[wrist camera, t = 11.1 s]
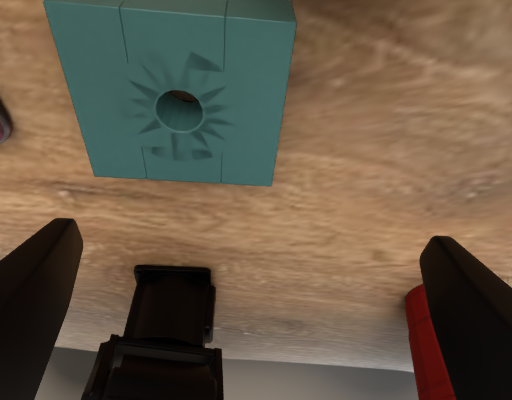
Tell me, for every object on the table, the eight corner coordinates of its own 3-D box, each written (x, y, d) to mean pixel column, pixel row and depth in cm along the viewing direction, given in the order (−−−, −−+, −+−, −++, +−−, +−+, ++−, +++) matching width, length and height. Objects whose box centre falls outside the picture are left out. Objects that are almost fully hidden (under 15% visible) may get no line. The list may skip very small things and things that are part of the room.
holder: (109, 145, 22) (94, 176, 20) (69, -21, 16) (42, 0, 14) (269, 155, 23) (271, 186, 21) (291, 0, 17) (296, 22, 15)
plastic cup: (476, 319, 39) (541, 455, 30) (373, 325, 39) (407, 460, 30) (519, 258, 31) (622, 416, 22) (390, 265, 32) (442, 422, 23)
